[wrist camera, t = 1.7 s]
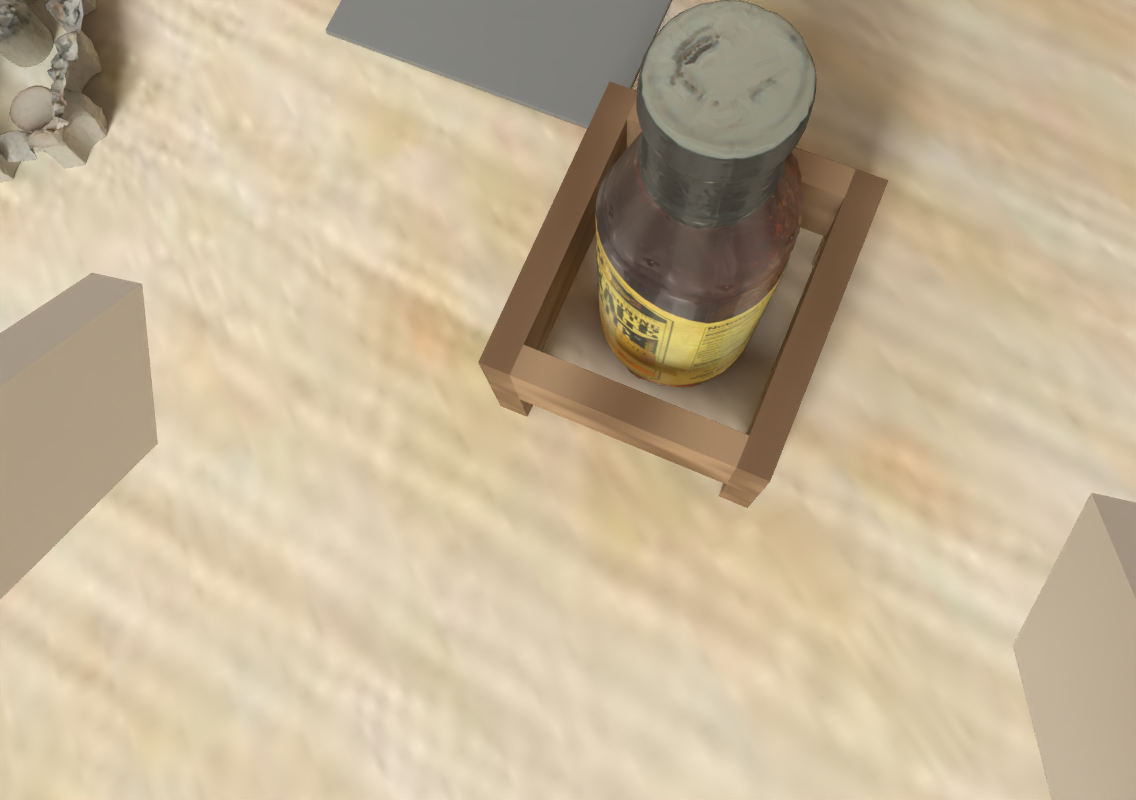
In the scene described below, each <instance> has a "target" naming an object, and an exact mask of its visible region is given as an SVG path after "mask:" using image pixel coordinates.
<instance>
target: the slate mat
mask: <svg viewBox="0 0 1136 800" xmlns="http://www.w3.org/2000/svg"><path fill="white" fill-rule="evenodd" d="M671 1H672V0H341V2H340V4H339V6H338V8H337V10H336V11H335V13H334V15H333V17H332V19H331V21H330V23H329V24H328V26H327V28H326V32H327V34H329V35H332V36H335V37H338V38H340V39H343V40H346V41H349V42H351V43H354V44H357V45H360V46H362V47H365V48H368V49H370V50H373V51H376V52H379V53H381V54H384V55H387V56H390V57H392V58H395V59H398V60H401V61H403V62H406V63H409V64H412V65H414V66H417V67H420V68H423V69H425V70H428V71H431V72H434V73H436V74H439V75H442V76H444V77H447V78H450V79H453V80H455V81H458V82H461V83H464V84H466V85H469V86H472V87H475V88H477V89H480V90H483V91H486V92H488V93H491V94H494V95H497V96H499V97H502V98H505V99H507V100H510V101H513V102H516V103H518V104H521V105H524V106H527V107H529V108H532V109H535V110H538V111H540V112H543V113H546V114H549V115H551V116H554V117H557V118H560V119H562V120H565V121H568V122H571V123H573V124H576V125H579V126H581V127H584V128H587V129H588V126H589V124H590V122H591V120H592V118H593V116H594V114H595V111H596V109H597V107H598V105H599V103H600V101H601V99H602V96H603V94H604V92H605V90H606V88H607V86H608V84H609V81H610V82H613V83H616V84H619V85H622V86H624V87H627V88H630V89H631V88H632V86H633V83H634V81H635V79H636V77H637V75H638V73H639V70H640V68H641V64H642V60H643V57H644V55H645V53H646V51H647V49H648V48H649V46H650V45H651V43H652V41H653V40H654V38H655V36H656V33H657V31H658V29H659V27H660V25H661V23H662V20H663V18H664V16H665V14H666V12H667V10H668V7H669V5H670V3H671Z"/></svg>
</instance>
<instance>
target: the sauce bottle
mask: <svg viewBox="0 0 1136 800" xmlns="http://www.w3.org/2000/svg"><path fill="white" fill-rule="evenodd" d="M815 92H816V71H815V66H814V63H813V59H812V57H811V55H810V53H809V51H808V49H807V47H806V44H805V42H804V40H803V38H802V36H801V35H800V33H799V32H798V31H797V30H796V29H795V28H794V27H793V26H792V25H791V24H790V23H789V22H788V21H786V20H785V19H784V18H782V17H781V16H779V15H778V14H776V13H774V12H771V11H767V10H765V9H763V8H761V7H760V6H757V5H754V4H750V3H747V2H743V1H729V0H724V1H716V2H710V3H704V4H699V5H697V6H695V7H693V8H691V9H688V10H686V11H684V12H681V13H679V14H678V15H677V16H676V17H674V18H672V19H671V20H670V21H669V22H668V23H667V24H666V25H665V26H663V28H662V29H661V31H660V32H659V33H658V34H657V35H656V37H655V38H654V40H653V41H652V43H651V45H650V46H649V48H648V49H647V51H646V53H645V55H644V57H643V60H642V64H641V70H640V76H639V80H638V86H637V93H636V95H637V98H636V110H637V115H638V119H639V123H640V127H641V130H642V132H641V133H640V134H639V135H638V136H637V138H636V139H635V140H634V141H633V142H632V144H631V145H630V146H629V147H628V148H627V150H626V151H625V152H624V153H623V154H622V156H621V157H620V158H619V159H618V160H617V162H616V163H615V164H613V165H612V167H611V168H610V169H609V171H608V172H607V174H606V175H605V177H604V179H603V181H602V183H601V185H600V188H599V192H598V196H597V201H596V241H597V242H596V250H597V251H596V253H597V254H596V258H597V272H598V290H599V310H600V320H601V325H602V329H603V332H604V335H605V338H606V341H607V343H608V345H609V346H610V348H611V349H612V351H613V352H614V354H615V355H616V357H617V358H618V359H619V360H620V361H621V362H622V363H623V364H624V365H625V366H626V367H627V368H628V370H629V371H630V372H631V373H632V374H634V375H635V376H636V377H638V378H639V379H644V380H647V381H650V382H653V383H656V384H659V385H664V386H670V387H693V386H696V385H698V384H700V383H702V382H705V381H707V380H708V379H711V378H713V377H714V376H717V375H719V374H720V373H722V372H724V371H725V370H726V369H727V368H728V367H730V366H731V365H732V364H733V363H734V362H735V360H736V359H737V358H738V357H739V356H740V354H741V353H742V351H743V350H744V348H745V347H746V345H747V343H748V341H749V339H750V337H751V335H752V333H753V331H754V330H755V328H756V326H757V323H758V322H759V320H760V318H761V316H762V314H763V312H764V310H765V308H766V306H767V304H768V302H769V300H770V298H771V296H772V294H773V292H774V290H775V288H776V286H777V284H778V282H779V280H780V279H781V277H782V275H783V273H784V270H785V268H786V266H787V263H788V260H789V257H790V253H791V251H792V249H793V247H794V244H795V241H796V238H797V236H798V234H799V229H800V227H801V219H802V213H803V210H804V209H803V200H804V194H803V187H802V180H801V172H800V170H799V165H798V161H797V159H796V157H795V156H794V155H793V153H792V151H793V149H794V148H795V147H796V145H797V143H798V142H799V140H800V138H801V136H802V134H803V132H804V131H805V128H806V125H807V122H808V119H809V116H810V113H811V110H812V106H813V103H814V99H815Z"/></svg>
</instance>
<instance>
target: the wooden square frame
mask: <svg viewBox="0 0 1136 800" xmlns="http://www.w3.org/2000/svg"><path fill="white" fill-rule="evenodd" d="M636 93H637V91H636V90H633V89H630V88H627V87H624V86H622V85H619V84H616V83H613V82H610V81H609V84H608V86H607V88H606V90H605V92H604V94H603V96H602V99H601V101H600V103H599V105H598V107H597V109H596V111H595V114H594V116H593V118H592V120H591V122H590V124H589V126H588V129H587V131H586V133H585V135H584V137H583V139H582V141H581V144H580V146H579V148H578V150H577V152H576V154H575V156H574V159H573V161H572V163H571V165H570V167H569V169H568V171H567V174H566V176H565V178H564V180H563V182H562V184H561V186H560V189H559V191H558V193H557V195H556V197H555V199H554V201H553V204H552V206H551V208H550V210H549V212H548V214H547V216H546V219H545V221H544V223H543V225H542V227H541V229H540V231H539V234H538V236H537V238H536V240H535V242H534V244H533V246H532V249H531V251H530V253H529V255H528V257H527V259H526V261H525V264H524V266H523V268H522V270H521V272H520V274H519V276H518V279H517V281H516V283H515V285H514V287H513V289H512V291H511V294H510V296H509V298H508V300H507V302H506V304H505V306H504V309H503V311H502V313H501V315H500V317H499V319H498V321H497V324H496V326H495V328H494V330H493V332H492V334H491V336H490V339H489V341H488V343H487V345H486V347H485V349H484V351H483V354H482V356H481V358H480V360H479V362H478V363H479V365H480V366H481V368H482V370H483V372H484V374H485V376H486V378H487V380H488V382H489V384H490V386H491V388H492V390H493V392H494V394H495V396H496V398H497V400H498V402H499V403H500V405H501V406H503V407H505V408H507V409H510V410H512V411H515V412H517V413H519V414H522V415H524V416H528V414H529V411H530V409H531V407H532V405H535V406H538V407H540V408H542V409H545V410H547V411H550V412H552V413H555V414H557V415H559V416H562V417H564V418H567V419H569V420H572V421H574V422H576V423H579V424H581V425H584V426H586V427H589V428H591V429H593V430H596V431H598V432H601V433H603V434H606V435H608V436H610V437H613V438H615V439H618V440H620V441H623V442H625V443H628V444H630V445H632V446H635V447H637V448H640V449H642V450H645V451H647V452H649V453H652V454H654V455H657V456H659V457H662V458H664V459H666V460H669V461H671V462H674V463H676V464H679V465H681V466H683V467H686V468H688V469H691V470H693V471H696V472H698V473H700V474H703V475H705V476H708V477H710V478H713V479H715V480H717V481H720V482H722V483H724V485H723V487H722V490H721V492H720V495H719V496H720V497H723V498H725V499H727V500H730V501H732V502H735V503H737V504H740V505H742V506H744V507H747V508H748V506H749V505H750V504H751V503H752V502H753V501H754V500H755V498H756V497H757V496H758V495H759V494H760V493H761V491H762V490H763V489H764V488H765V487H766V486H767V484H768V483H769V482H770V480H771V478H772V475H773V473H774V470H775V468H776V465H777V463H778V460H779V457H780V455H781V452H782V450H783V447H784V445H785V442H786V440H787V437H788V435H789V432H790V429H791V427H792V424H793V422H794V419H795V417H796V414H797V412H798V409H799V406H800V404H801V401H802V399H803V396H804V394H805V391H806V389H807V386H808V384H809V381H810V378H811V376H812V373H813V371H814V368H815V366H816V363H817V361H818V358H819V355H820V353H821V350H822V348H823V345H824V343H825V340H826V338H827V335H828V332H829V330H830V327H831V325H832V322H833V320H834V317H835V315H836V312H837V310H838V307H839V304H840V302H841V299H842V297H843V294H844V292H845V289H846V287H847V284H848V281H849V279H850V276H851V274H852V271H853V269H854V266H855V264H856V261H857V259H858V256H859V253H860V251H861V248H862V246H863V243H864V241H865V238H866V236H867V233H868V230H869V228H870V225H871V223H872V220H873V218H874V215H875V213H876V210H877V207H878V205H879V202H880V200H881V197H882V195H883V192H884V190H885V187H886V185H887V182H888V180H885V179H883V178H880V177H877V176H874V175H871V174H869V173H866V172H863V171H860V170H857V169H855V168H852V167H849V166H846V165H843V164H841V163H838V162H835V161H832V160H829V159H826V158H824V157H821V156H818V155H815V154H812V153H810V152H807V151H804V150H801V149H798V148H796V147H795V148H794V149H793V151H792V153H793V155H794V156H795V157H796V159H797V161H798V165H799V170H800V172H801V180H802V187H803V194H804V200H803V209H804V210H803V213H802V219H801V228H804V229H807V230H810V231H812V232H815V233H818V234H820V235H823V236H824V237H823V239H822V241H821V243H820V246H819V248H818V251H817V253H816V256H815V258H814V261H813V263H812V265H814V267H813V269H812V272H811V274H810V277H809V279H808V282H807V284H806V287H805V289H804V292H803V294H802V297H801V299H800V302H799V304H798V307H797V309H796V312H795V314H794V317H793V319H792V322H791V324H790V327H789V329H788V332H787V334H786V337H785V339H784V342H783V344H782V347H781V349H780V352H779V354H778V356H777V359H776V361H775V364H774V366H773V369H772V371H771V374H770V376H769V379H768V381H767V384H766V386H765V389H764V391H763V394H762V396H761V399H760V401H759V404H758V406H757V409H756V411H755V414H754V416H753V419H752V421H751V424H750V426H749V429H748V431H747V434H744V433H742V432H739V431H737V430H734V429H732V428H730V427H727V426H725V425H722V424H720V423H717V422H715V421H712V420H710V419H707V418H705V417H702V416H700V415H697V414H695V413H692V412H690V411H687V410H685V409H682V408H680V407H677V406H675V405H672V404H670V403H667V402H665V401H662V400H660V399H657V398H655V397H653V396H650V395H648V394H645V393H643V392H640V391H638V390H635V389H633V388H630V387H628V386H625V385H623V384H620V383H618V382H615V381H613V380H610V379H608V378H605V377H603V376H600V375H598V374H595V373H593V372H590V371H588V370H585V369H583V368H580V367H578V366H575V365H573V364H571V363H568V362H566V361H563V360H561V359H558V358H556V357H553V356H551V355H548V354H546V353H543V352H541V351H542V349H543V347H544V345H545V342H546V340H547V338H548V336H549V334H550V331H551V329H552V327H553V325H554V323H555V320H556V318H557V316H558V314H559V312H560V309H561V307H562V305H563V303H564V301H565V298H566V296H567V294H568V292H569V290H570V287H571V285H572V283H573V281H574V278H575V276H576V274H577V272H578V270H579V267H580V265H581V263H582V261H583V259H584V256H585V254H586V252H587V250H588V248H589V245H590V243H591V241H592V239H593V237H594V234H595V232H596V201H597V196H598V192H599V188H600V185H601V183H602V181H603V179H604V177H605V175H606V174H607V172H608V171H609V169H610V168H611V167H612V165H613V164H615V163H616V162H617V160H618V159H619V158H620V157H621V156H622V154H623V153H624V152H625V151H626V150H627V148H628V147H629V146H630V145H631V144H632V142H633V141H634V140H635V139H636V138H637V136H638V135H639V134H640V133H641V132H642V130H641V127H640V123H639V119H638V115H637V110H636V98H637V95H636Z"/></svg>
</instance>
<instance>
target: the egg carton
mask: <svg viewBox="0 0 1136 800" xmlns="http://www.w3.org/2000/svg"><path fill="white" fill-rule="evenodd" d="M35 1H36V0H0V52H1V53H2V54H3V55H4V56H5V57H6V58H7V59H9V60H10V61H11V62H13V63H14V64H16V65H18V66H20V67H31V66H34V65H37V64H39V63H41V62H43V61H44V60H45V59H46V58H47V57H48V55H49V54H50V52H51V50H52V47H53V36H52V34H51V32H50V30H49V29H48V28H47V27H46V26H45V25H44V24H43V23H42V22H41V21H40V19H39V18H38V17H37V16H36V15H35V14H34V13H33V12H32V11H31V10H30V8H29V7H28V6H27V5H28V4H31V3H33V2H35ZM96 2H97V1H96V0H50V1H49V2H47V3H46V8H47V11H48V12H49V13H50V14H51V15H52V16H53V17H54V18H55V19H56V21H57V22H58V23H59V24H60V25H61V26H62V27H63V28H64V29H65V30H66V32H67V34H65V35H63V36H60V37H59V38H58V39H57V40H56V41H55V42H54V43H55V46H56V48H57V51H58V53H57V54H56V55H55V57H54V58H53V60H52V61H51V63H52V69H50V70H48V71H47V72H48V73H49V75H50V77H51V78H52V79H53V81H54V83H53V84H52V85H51V90H49V89H47V88H45V87H41V86H33V87H30V88H27V89H25V90H23V91H21V92H20V93H19V94H18V95H17V96H16V97H15V99H14V100H13V102H12V106H11V109H10V117H11V120H12V121H13V123H14V124H15V125H17V126H18V127H19V128H21V129H23V130H25V131H34V132H33V133H32V134H30V133H27V132H23V131H9V132H7V133H4V134H2V135H1V136H0V182H4V181H11V180H13V179H14V176H15V172H16V169H17V167H18V165H19V164H20V162H21V161H28V160H36V159H37V156H36V155H35V153H36V152H41V151H45V152H47V153H48V154H49V155H51V156H52V157H53V158H54V159H55V160H56V161H57V162H58V163H60V164H61V165H62V166H63V167H64V168H72V167H77V166H82V165H85V164H86V162H87V158H88V155H89V152H90V150H91V149H92V147H93V146H94V145H95V144H96V143H97V142H98V141H99V140H101V139H103V138H105V137H106V135H107V131H108V126H107V120H106V116H105V115H104V114H103V111H102V107H98V106H97V105H95V104H94V103H93V102H92V101H91V99H90V98H88V97H87V96H86V95H84V94H82V91H83V88H84V86H85V85H86V83H87V82H88V81H89V79H90V78H91V77H93V76H94V75H96V74H97V73H100V72H102V66H101V63H100V60H99V58H98V53H97V52H96V51H95V49H94V46H93V43H92V41H91V40H90V39H89V38H88V37H87V36H86V35H85V34H84V33H83V32H82V31H81V25H82V19H83V17H84V16H85V15H86V14H88V13H90V12H91V11H94V10H96ZM33 10H34V9H33Z"/></svg>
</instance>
